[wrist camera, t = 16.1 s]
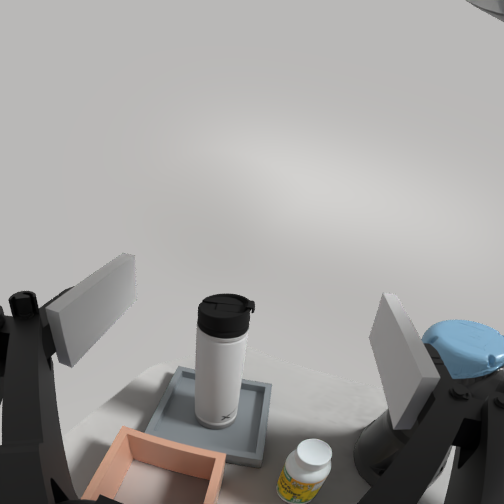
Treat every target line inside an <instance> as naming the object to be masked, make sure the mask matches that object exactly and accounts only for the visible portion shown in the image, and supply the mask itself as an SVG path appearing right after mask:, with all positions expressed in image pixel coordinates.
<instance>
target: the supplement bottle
mask: <svg viewBox="0 0 504 504" xmlns="http://www.w3.org/2000/svg"><path fill="white" fill-rule="evenodd" d="M331 457H332V450H331V448H330V446H329V445H328V444H327V443H326V442H324V441H322V440H319V439H306V440H304V441H302V442H301V443H300V444H299V445H298V447H297V449H296V450H294V451H292V452H291V453H290V454H289V455H288V457H287V459H286V462H285V464H284V467H283V469H282V472H281V475H280V477H279V480H278V482H277V487H276V489H277V493H278V495H279V497H280V498H281V499H282V500H284V501H285V502H287V503H291V504H305V503H308V502H309V501H311V500H312V499H313V498H314V497H315V496H316V494H317V493H318V491H319V489H320V488H321V486H322V484H323V483H324V481H325V480H326V478H327V476H328V474H329V473H330V470H331V461H330V459H331Z"/></svg>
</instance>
